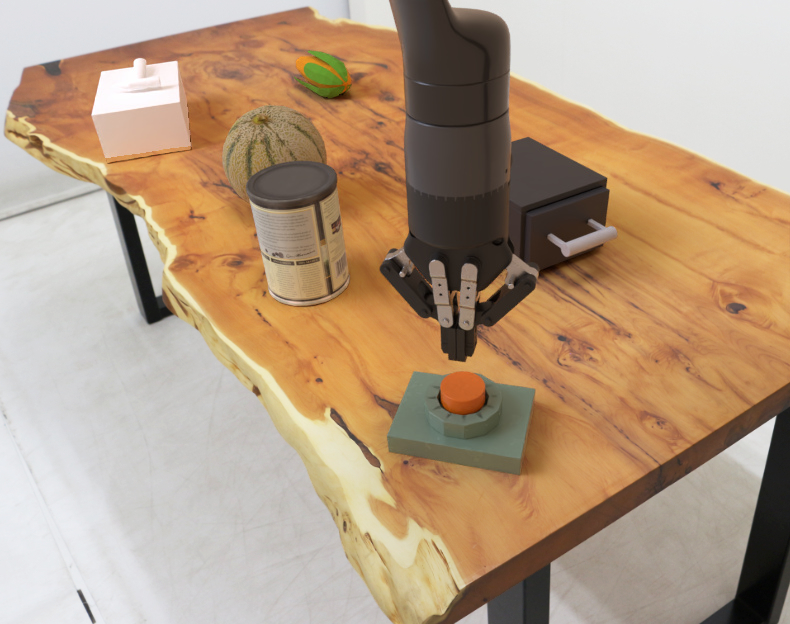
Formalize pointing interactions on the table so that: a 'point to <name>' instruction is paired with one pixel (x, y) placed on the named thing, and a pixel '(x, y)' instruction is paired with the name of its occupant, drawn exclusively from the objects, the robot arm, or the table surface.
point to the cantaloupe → (269, 143)
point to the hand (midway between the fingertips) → (459, 355)
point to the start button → (462, 393)
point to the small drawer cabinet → (542, 183)
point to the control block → (464, 426)
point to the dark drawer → (567, 228)
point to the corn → (324, 74)
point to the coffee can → (300, 231)
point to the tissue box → (141, 109)
